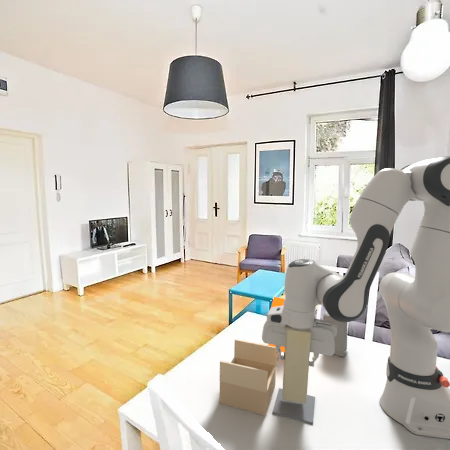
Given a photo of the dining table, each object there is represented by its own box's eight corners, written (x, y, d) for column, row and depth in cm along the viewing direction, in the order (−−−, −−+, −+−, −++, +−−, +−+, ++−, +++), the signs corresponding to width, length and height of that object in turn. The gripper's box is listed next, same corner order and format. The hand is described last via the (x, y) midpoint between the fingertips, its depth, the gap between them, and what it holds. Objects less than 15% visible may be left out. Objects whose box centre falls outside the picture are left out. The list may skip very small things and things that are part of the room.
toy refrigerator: (309, 405, 82) (313, 332, 80) (282, 400, 84) (286, 329, 81) (307, 386, 90) (311, 320, 88) (282, 383, 91) (286, 317, 89)
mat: (315, 398, 90) (315, 396, 90) (312, 424, 80) (312, 422, 80) (279, 389, 94) (279, 388, 94) (272, 413, 84) (272, 411, 84)
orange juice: (276, 339, 127) (278, 294, 125) (295, 345, 122) (298, 298, 120) (267, 346, 120) (269, 299, 118) (288, 354, 115) (290, 304, 113)
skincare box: (346, 350, 119) (349, 312, 117) (343, 358, 113) (345, 318, 111) (325, 344, 123) (327, 307, 122) (320, 352, 117) (322, 313, 116)
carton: (275, 385, 96) (276, 347, 95) (265, 416, 83) (267, 372, 81) (234, 375, 101) (235, 339, 100) (219, 403, 87) (219, 361, 86)
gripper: (337, 318, 84) (334, 364, 85) (266, 306, 91) (264, 349, 92) (338, 327, 78) (334, 376, 79) (261, 314, 85) (259, 360, 86)
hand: (296, 362), depth 86 cm, fingers closed on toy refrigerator, 7 cm apart
